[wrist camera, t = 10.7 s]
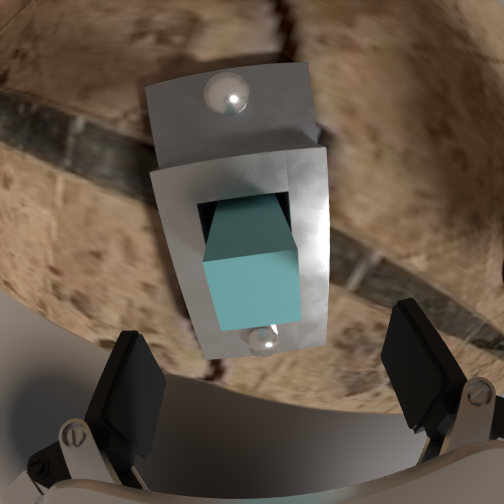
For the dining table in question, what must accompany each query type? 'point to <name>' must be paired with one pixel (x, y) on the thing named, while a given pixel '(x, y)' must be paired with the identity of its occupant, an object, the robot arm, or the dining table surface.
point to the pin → (252, 264)
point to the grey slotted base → (242, 187)
